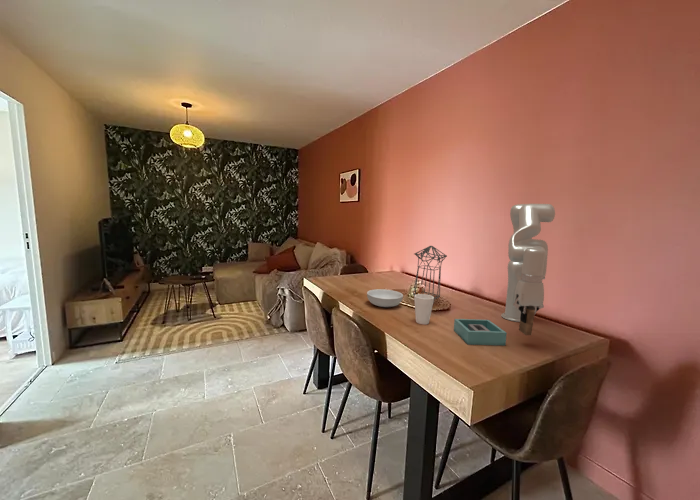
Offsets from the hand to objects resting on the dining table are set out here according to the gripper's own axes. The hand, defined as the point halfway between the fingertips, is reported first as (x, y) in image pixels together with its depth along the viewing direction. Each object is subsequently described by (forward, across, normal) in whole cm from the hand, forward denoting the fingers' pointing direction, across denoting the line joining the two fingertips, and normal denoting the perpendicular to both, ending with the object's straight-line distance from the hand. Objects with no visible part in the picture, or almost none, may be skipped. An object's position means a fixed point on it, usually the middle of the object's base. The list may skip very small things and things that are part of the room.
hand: (526, 321), depth 130 cm
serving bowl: (+11, +51, -53) cm, 75 cm away
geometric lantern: (+12, +24, -60) cm, 66 cm away
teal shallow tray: (+10, +16, -7) cm, 21 cm away
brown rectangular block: (+5, 0, 0) cm, 5 cm away
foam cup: (+11, +36, -25) cm, 46 cm away
